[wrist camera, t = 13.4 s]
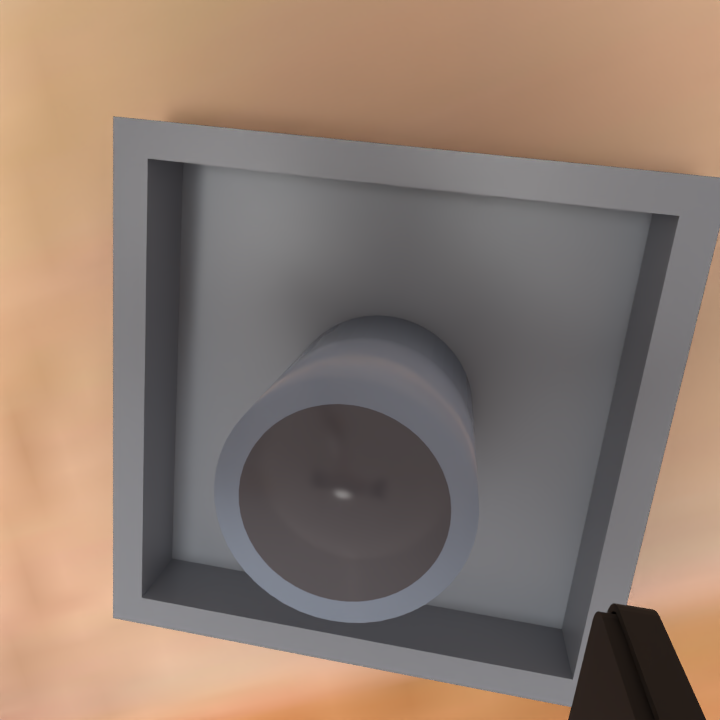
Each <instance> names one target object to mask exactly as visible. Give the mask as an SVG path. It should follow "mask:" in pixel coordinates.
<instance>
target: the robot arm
mask: <svg viewBox="0 0 720 720" xmlns="http://www.w3.org/2000/svg"><path fill="white" fill-rule="evenodd" d="M568 720H706V718H705V716H704V714H703V712H702V710H701V707H700V705H699V703H698V701H697V698H696V696H695V694H694V692H693V690H692V687H691V685H690V683H689V681H688V679H687V676H686V674H685V672H684V670H683V667H682V665H681V663H680V661H679V659H678V656H677V654H676V652H675V650H674V647H673V645H672V643H671V641H670V639H669V636H668V634H667V632H666V630H665V627H664V625H663V623H662V621H661V619H660V616H659V615H658V613H657V612H656V611H655V610H652V609H646V608H640V607H634V606H628V605H622V604H616V603H613V604H611V605H610V607H609V608H608V611H607V613H605V612H599V611H598V612H596V613H595V615H594V617H593V621H592V625H591V629H590V633H589V637H588V641H587V645H586V649H585V653H584V658H583V662H582V666H581V670H580V674H579V678H578V682H577V686H576V690H575V694H574V699H573V703H572V707H571V711H570V715H569V719H568Z"/></svg>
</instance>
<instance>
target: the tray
mask: <svg viewBox="0 0 720 720" xmlns="http://www.w3.org/2000/svg"><path fill="white" fill-rule="evenodd" d="M719 228H720V178H719V177H709V176H699V175H689V174H679V173H669V172H659V171H649V170H639V169H629V168H619V167H610V166H600V165H590V164H580V163H570V162H560V161H550V160H540V159H530V158H520V157H510V156H501V155H491V154H481V153H471V152H461V151H451V150H441V149H431V148H421V147H411V146H401V145H391V144H382V143H372V142H362V141H352V140H342V139H332V138H322V137H312V136H302V135H292V134H282V133H272V132H263V131H253V130H243V129H233V128H223V127H213V126H203V125H193V124H183V123H173V122H163V121H154V120H144V119H134V118H124V117H114V116H113V618H116V619H121V620H126V621H131V622H137V623H142V624H147V625H152V626H157V627H162V628H167V629H173V630H178V631H183V632H188V633H193V634H198V635H203V636H209V637H214V638H219V639H224V640H229V641H234V642H239V643H245V644H250V645H255V646H260V647H265V648H270V649H275V650H281V651H286V652H291V653H296V654H301V655H306V656H311V657H317V658H322V659H327V660H332V661H337V662H342V663H347V664H353V665H358V666H363V667H368V668H373V669H378V670H383V671H389V672H394V673H399V674H404V675H409V676H414V677H419V678H425V679H430V680H435V681H440V682H445V683H450V684H455V685H461V686H466V687H471V688H476V689H481V690H486V691H491V692H497V693H502V694H507V695H512V696H517V697H522V698H527V699H533V700H538V701H543V702H548V703H553V704H558V705H563V706H569V707H572V703H573V699H574V694H575V690H576V686H577V682H578V678H579V674H580V670H581V666H582V662H583V658H584V653H585V649H586V645H587V641H588V637H589V633H590V629H591V625H592V621H593V617H594V615H595V613H596V612H598V611H599V612H605V613H607V611H608V608H609V607H610V605H611V604H613V603H616V604H622V605H627V601H628V597H629V593H630V589H631V585H632V581H633V576H634V572H635V568H636V564H637V560H638V556H639V552H640V548H641V544H642V540H643V536H644V532H645V528H646V524H647V520H648V516H649V512H650V508H651V504H652V500H653V496H654V491H655V487H656V483H657V479H658V475H659V471H660V467H661V463H662V459H663V455H664V451H665V447H666V443H667V439H668V435H669V431H670V427H671V423H672V419H673V415H674V410H675V406H676V402H677V398H678V394H679V390H680V386H681V382H682V378H683V374H684V370H685V366H686V362H687V358H688V354H689V350H690V346H691V342H692V338H693V334H694V329H695V325H696V321H697V317H698V313H699V309H700V305H701V301H702V297H703V293H704V289H705V285H706V281H707V277H708V273H709V269H710V265H711V261H712V257H713V253H714V249H715V244H716V240H717V236H718V232H719ZM375 315H379V316H391V317H397V318H402V319H405V320H408V321H411V322H414V323H416V324H418V325H420V326H422V327H424V328H426V329H427V330H429V331H431V332H432V333H434V334H435V335H436V336H438V337H439V338H440V339H441V340H442V341H443V342H445V343H446V344H447V346H448V347H449V348H450V349H451V350H452V351H453V352H454V354H455V355H456V357H457V358H458V360H459V361H460V362H461V364H462V366H463V368H464V370H465V372H466V375H467V378H468V381H469V384H470V388H471V393H472V401H473V418H474V434H475V450H476V466H477V482H478V499H479V520H478V529H477V533H476V537H475V541H474V545H473V547H472V550H471V552H470V555H469V557H468V559H467V561H466V563H465V564H464V566H463V568H462V569H461V571H460V573H459V574H458V575H457V576H456V578H455V579H454V580H453V581H452V582H451V584H450V585H449V586H448V587H447V588H446V589H445V590H443V591H442V592H441V593H440V594H439V595H438V596H437V597H435V598H434V599H432V600H431V601H430V602H428V603H427V604H425V605H423V606H421V607H419V608H418V609H416V610H414V611H412V612H409V613H407V614H404V615H401V616H398V617H396V618H391V619H387V620H383V621H376V622H367V623H346V622H338V621H330V620H326V619H322V618H318V617H314V616H311V615H309V614H306V613H303V612H300V611H298V610H296V609H294V608H292V607H290V606H288V605H286V604H284V603H282V602H281V601H279V600H278V599H276V598H275V597H273V596H271V595H270V594H269V593H268V592H266V591H265V590H264V589H263V588H261V587H260V586H259V585H258V584H257V583H256V582H255V581H254V580H253V579H252V578H251V577H250V576H249V575H248V574H247V573H246V572H245V571H244V569H243V568H242V567H241V565H240V564H239V563H238V562H237V560H236V559H235V557H234V555H233V554H232V552H231V550H230V549H229V547H228V545H227V543H226V541H225V538H224V536H223V534H222V532H221V528H220V525H219V522H218V518H217V514H216V507H215V501H214V482H215V473H216V467H217V464H218V460H219V456H220V453H221V451H222V448H223V446H224V444H225V441H226V439H227V438H228V436H229V435H230V433H231V431H232V430H233V428H234V426H235V425H236V424H237V423H238V422H239V420H240V419H241V418H242V417H243V416H244V414H245V413H246V412H247V411H248V410H249V409H250V408H251V407H252V406H253V405H254V404H255V403H256V402H257V401H258V399H259V398H260V397H261V396H262V395H263V394H264V393H265V392H266V391H267V390H268V389H269V388H270V387H271V386H272V385H273V384H274V382H275V381H276V380H277V379H278V378H279V377H280V376H281V375H282V374H283V373H284V372H285V371H286V370H287V369H288V368H289V367H290V365H291V364H292V363H293V362H294V361H295V360H296V359H297V358H298V357H299V356H300V355H301V354H302V353H303V352H304V351H305V349H306V348H307V347H308V346H309V345H310V344H311V343H312V342H313V341H314V340H315V339H316V338H318V337H319V336H320V335H321V334H322V333H324V332H325V331H327V330H328V329H330V328H331V327H333V326H335V325H337V324H339V323H341V322H344V321H347V320H350V319H353V318H358V317H363V316H375Z"/></svg>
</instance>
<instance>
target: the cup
mask: <svg viewBox="0 0 720 720" xmlns="http://www.w3.org/2000/svg"><path fill="white" fill-rule="evenodd" d="M214 501H215V507H216V514H217V518H218V522H219V525H220V528H221V532H222V534H223V536H224V538H225V541H226V543H227V545H228V547H229V549H230V550H231V552H232V554H233V555H234V557H235V559H236V560H237V562H238V563H239V564H240V565H241V567H242V568H243V569H244V571H245V572H246V573H247V574H248V575H249V576H250V577H251V578H252V579H253V580H254V581H255V582H256V583H257V584H258V585H259V586H260V587H261V588H263V589H264V590H265V591H266V592H268V593H269V594H270V595H271V596H273V597H275V598H276V599H278V600H279V601H281V602H282V603H284V604H286V605H288V606H290V607H292V608H294V609H296V610H298V611H300V612H303V613H306V614H309V615H311V616H314V617H318V618H322V619H326V620H330V621H338V622H346V623H367V622H376V621H383V620H387V619H391V618H396V617H398V616H401V615H404V614H407V613H409V612H412V611H414V610H416V609H418V608H419V607H421V606H423V605H425V604H427V603H428V602H430V601H431V600H432V599H434V598H435V597H437V596H438V595H439V594H440V593H441V592H442V591H443V590H445V589H446V588H447V587H448V586H449V585H450V584H451V582H452V581H453V580H454V579H455V578H456V576H457V575H458V574H459V573H460V571H461V569H462V568H463V566H464V564H465V563H466V561H467V559H468V557H469V555H470V552H471V550H472V547H473V545H474V541H475V537H476V533H477V529H478V520H479V499H478V482H477V466H476V450H475V434H474V418H473V401H472V393H471V388H470V384H469V381H468V378H467V375H466V372H465V370H464V368H463V366H462V364H461V362H460V361H459V360H458V358H457V357H456V355H455V354H454V352H453V351H452V350H451V349H450V348H449V347H448V346H447V344H446V343H445V342H443V341H442V340H441V339H440V338H439V337H438V336H436V335H435V334H434V333H432V332H431V331H429V330H427V329H426V328H424V327H422V326H420V325H418V324H416V323H414V322H411V321H408V320H405V319H402V318H397V317H391V316H379V315H375V316H363V317H358V318H353V319H350V320H347V321H344V322H341V323H339V324H337V325H335V326H333V327H331V328H330V329H328V330H327V331H325V332H324V333H322V334H321V335H320V336H319V337H318V338H316V339H315V340H314V341H313V342H312V343H311V344H310V345H309V346H308V347H307V348H306V349H305V351H304V352H303V353H302V354H301V355H300V356H299V357H298V358H297V359H296V360H295V361H294V362H293V363H292V364H291V365H290V367H289V368H288V369H287V370H286V371H285V372H284V373H283V374H282V375H281V376H280V377H279V378H278V379H277V380H276V381H275V382H274V384H273V385H272V386H271V387H270V388H269V389H268V390H267V391H266V392H265V393H264V394H263V395H262V396H261V397H260V398H259V399H258V401H257V402H256V403H255V404H254V405H253V406H252V407H251V408H250V409H249V410H248V411H247V412H246V413H245V414H244V416H243V417H242V418H241V419H240V420H239V422H238V423H237V424H236V425H235V426H234V428H233V430H232V431H231V433H230V435H229V436H228V438H227V439H226V441H225V444H224V446H223V448H222V451H221V453H220V456H219V460H218V464H217V467H216V473H215V482H214Z"/></svg>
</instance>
